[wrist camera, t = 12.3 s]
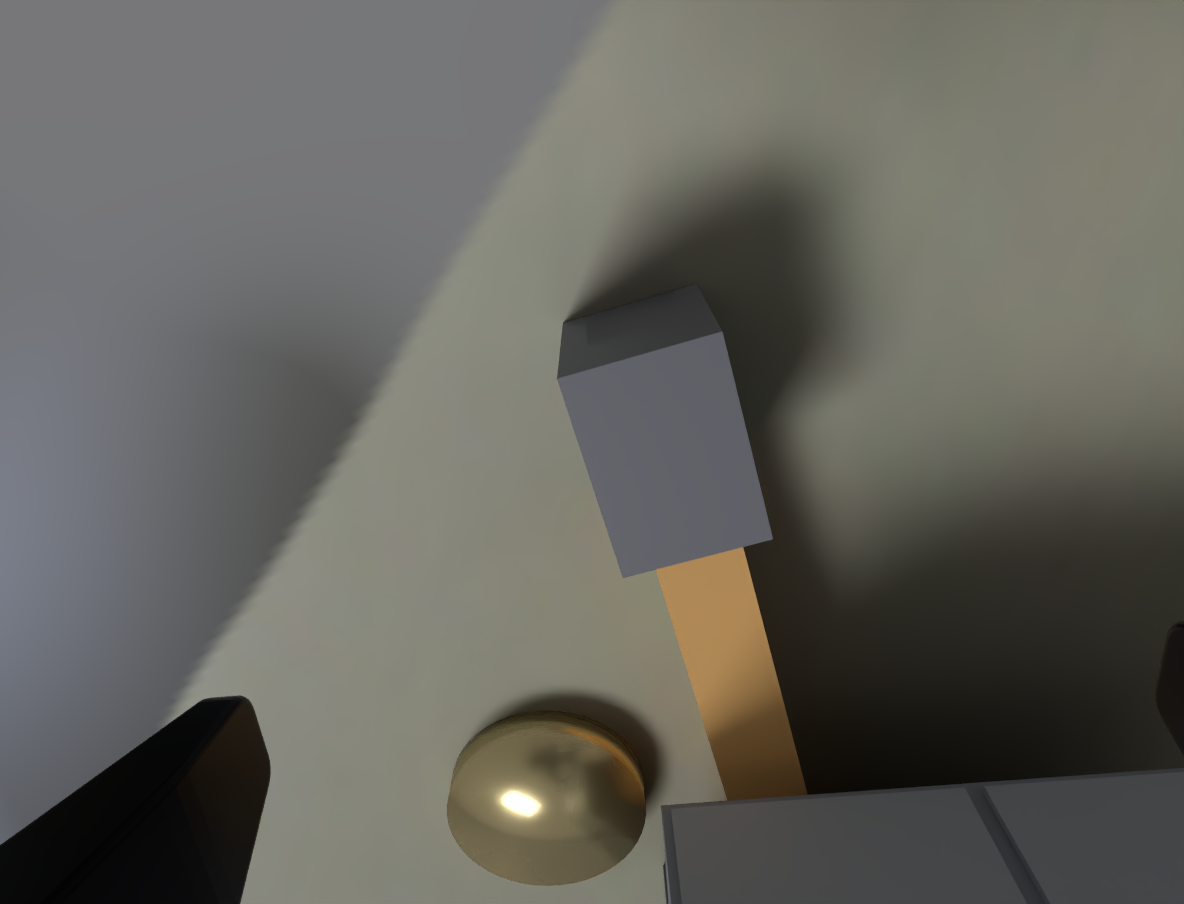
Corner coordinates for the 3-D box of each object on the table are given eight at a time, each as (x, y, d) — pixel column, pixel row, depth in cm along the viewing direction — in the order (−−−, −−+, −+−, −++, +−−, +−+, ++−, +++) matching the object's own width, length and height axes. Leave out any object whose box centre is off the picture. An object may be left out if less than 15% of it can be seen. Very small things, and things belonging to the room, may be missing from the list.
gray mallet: (696, 283, 17) (721, 331, 14) (830, 818, 23) (871, 943, 19) (563, 322, 17) (556, 378, 14) (728, 840, 23) (751, 966, 20)
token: (616, 684, 21) (618, 717, 20) (661, 827, 23) (665, 864, 22) (427, 726, 22) (419, 760, 21) (487, 863, 24) (482, 901, 23)
